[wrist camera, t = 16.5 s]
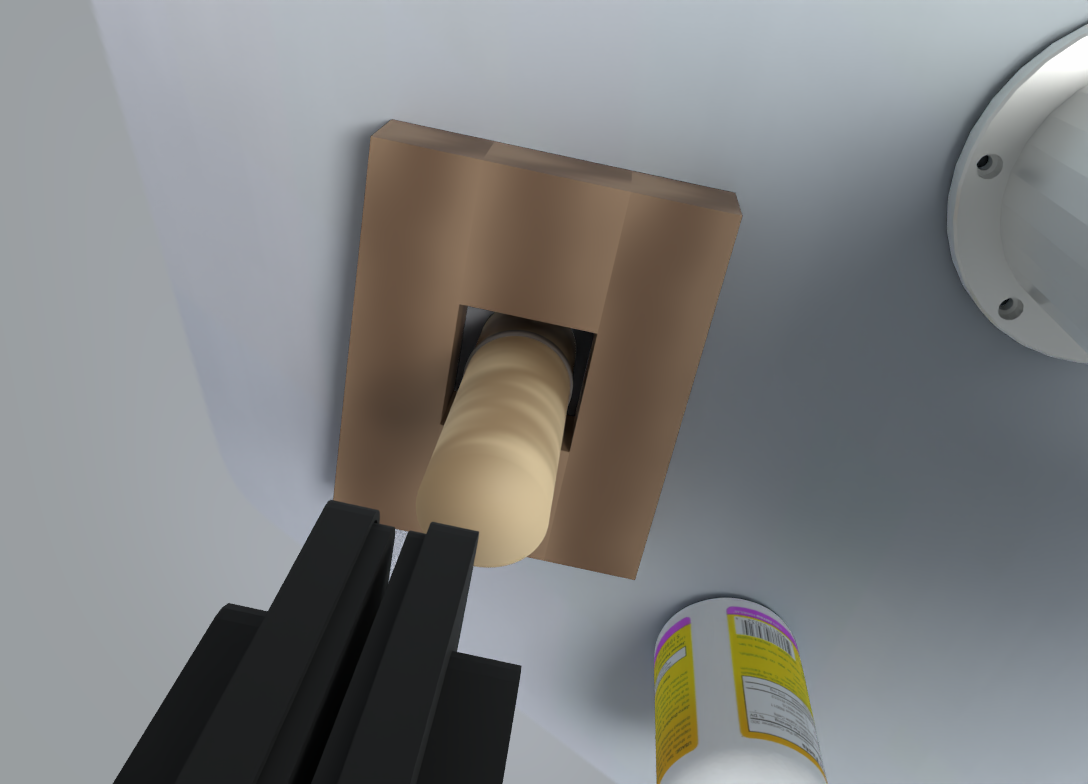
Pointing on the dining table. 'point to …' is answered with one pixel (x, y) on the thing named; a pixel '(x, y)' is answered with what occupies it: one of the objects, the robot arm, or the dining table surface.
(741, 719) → the supplement bottle
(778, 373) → the dining table surface
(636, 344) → the board
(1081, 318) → the robot arm
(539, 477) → the peg
